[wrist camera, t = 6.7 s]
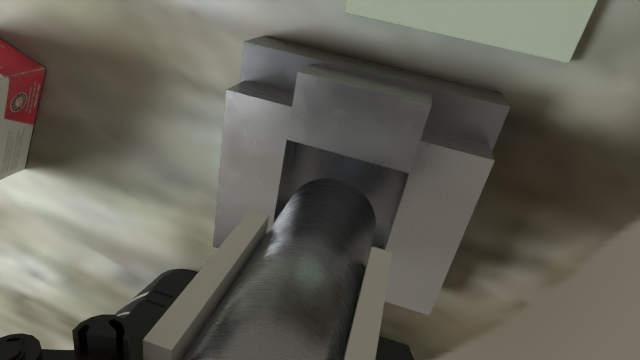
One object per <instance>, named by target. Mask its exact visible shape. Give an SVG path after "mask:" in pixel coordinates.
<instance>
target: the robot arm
mask: <svg viewBox="0 0 640 360" xmlns="http://www.w3.org/2000/svg"><path fill="white" fill-rule="evenodd" d="M268 221H269V215H267V214H264V213H261V212H258V211H254V210H251V209H250V211H249V212H248V213H247V214H246V215H245V217H244V218H243V219H242V220H241V221H240V223H239V224H238V225H237V226H236V228H235V229H234V230H233V231H232V232H231V234H230V235H229V236H228V237H227V238H226V240H225V241H224V242H223V243H222V244H221V246H220V247H219V248H218V249H217V251H216V252H215V253H214V254H213V255H212V257H211V258H210V259H209V260H208V261H207V263H206V264H205V265H204V266H203V267H202V269H201V270H200V271H199V272H198V274H197V275H196V276H194V275H191V274H188V273H185V272H182V271H179V270H176V271H174V272H172V273H170V274H168V275H167V276H165V277H163V278H162V279H161V280H160V281H159V282H158V283H157V284H156V285H155V286H154V287H153V288H152V290H151V291H149V293H148V294H147V295H146V296H145V297H144V298H143V300H142V301H140V302H139V303H138V304H137V305H136V306H135V307H134V309H133V310H132V311H131V312H130V313H129V314H128V315H127V316H126V317H125V318H124V319H123V318H122V317H119V316H116V315H99V316H95V317H91V318H89V319H87V320H85V321H83V322H81V323H80V324H79V325H78V326H77V327H76V328H75V329H73V330H72V332H73V341H74V349H75V350H49V349H41V346H40V342H39V340H38V339H36V338H35V337H34V336H32V335H27V334H11V335H7V336H4V337H1V338H0V360H181V359H182V358H183V356H184V355H185V353H186V352H187V351H188V349H189V348H190V346H191V345H192V343H193V342H194V340H195V339H196V337H197V336H198V334H199V333H200V331H201V330H202V328H203V327H204V326H205V324H206V323H207V321H208V320H209V318H210V317H211V315H212V314H213V312H214V311H215V309H216V308H217V306H218V305H219V303H220V302H221V300H222V299H223V298H224V296H225V295H226V293H227V292H228V290H229V289H230V287H231V286H232V284H233V283H234V281H235V280H236V278H237V277H238V275H239V274H240V272H241V271H242V270H243V268H244V267H245V265H246V264H247V262H248V261H249V259H250V258H251V256H252V255H253V253H254V252H255V250H256V249H257V247H258V246H259V244H260V243H261V242H262V240H263V239H264V237H265V236H266V234H267V227H268ZM391 258H392V252H389V251H386V250H383V249H379V248H376V247H373V246H372V247H371V251H370V254H369V257H368V261H367V264H366V267H365V271H364V275H363V279H362V283H361V288H360V292H359V296H358V300H357V304H356V308H355V312H354V316H353V320H352V324H351V328H350V332H349V336H348V340H347V344H346V348H345V352H344V356H343V360H414V359H413V356H412V354H411V351H410V348H409V346H408V345H405V344H402V343H399V342H396V341H393V340H390V339H387V338H384V337H381V336H379V333H380V327H381V320H382V314H383V308H384V302H385V295H386V289H387V283H388V277H389V270H390V264H391Z"/></svg>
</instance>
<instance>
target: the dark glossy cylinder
mask: <svg viewBox="0 0 640 360" xmlns="http://www.w3.org/2000/svg"><path fill="white" fill-rule="evenodd" d="M375 229H376V217H375V212H374V210H373V207H372V205H371V203H370V202H369V200H368V199H367V197H366V196H365V195H364V194H363V193H362V192H361V191H360V190H358V189H357V188H356V187H354V186H352V185H351V184H349V183H347V182H344V181H341V180H337V179H330V178H322V179H316V180H313V181H310V182H308V183H306V184H304V185H302V186H301V187H300V188H299V189H297V191H296V192H295V193H294V194H293V196H292V197H291V199H290V200H289V202H288V203H287V205H286V206H285V208H284V209H283V211H282V212H281V214H280V215H279V216H278V218H277V219H276V221H275V222H274V224H273V225H272V227H271V228H270V230H269V231H268V233H267V234H266V236H265V237H264V239H263V240H262V242H261V243H260V244H259V246H258V247H257V249H256V250H255V252H254V253H253V255H252V256H251V258H250V259H249V261H248V262H247V264H246V265H245V267H244V268H243V270H242V271H241V272H240V274H239V275H238V277H237V278H236V280H235V281H234V283H233V284H232V286H231V287H230V289H229V290H228V292H227V293H226V295H225V296H224V298H223V299H222V300H221V302H220V303H219V305H218V306H217V308H216V309H215V311H214V312H213V314H212V315H211V317H210V318H209V320H208V321H207V323H206V324H205V326H204V327H203V328H202V330H201V331H200V333H199V334H198V336H197V337H196V339H195V340H194V342H193V343H192V345H191V346H190V348H189V349H188V351H187V352H186V353H185V355H184V356H183V358H182V359H181V360H343V356H344V352H345V348H346V344H347V340H348V336H349V332H350V328H351V324H352V320H353V316H354V312H355V308H356V304H357V300H358V296H359V292H360V288H361V283H362V279H363V275H364V271H365V267H366V264H367V261H368V257H369V254H370V250H371V246H372V242H373V238H374V233H375Z"/></svg>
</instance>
